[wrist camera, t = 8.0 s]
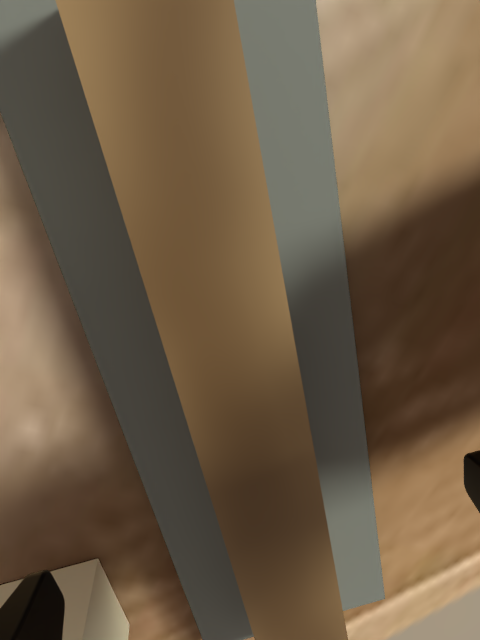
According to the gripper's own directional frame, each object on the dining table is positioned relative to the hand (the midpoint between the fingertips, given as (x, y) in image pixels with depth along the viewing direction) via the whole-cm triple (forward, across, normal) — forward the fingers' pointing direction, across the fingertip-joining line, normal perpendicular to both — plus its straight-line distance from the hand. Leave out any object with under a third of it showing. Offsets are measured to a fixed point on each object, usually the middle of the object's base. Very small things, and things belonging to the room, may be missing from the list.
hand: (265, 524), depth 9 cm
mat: (+6, 0, 0) cm, 6 cm away
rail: (+5, 0, 0) cm, 5 cm away
